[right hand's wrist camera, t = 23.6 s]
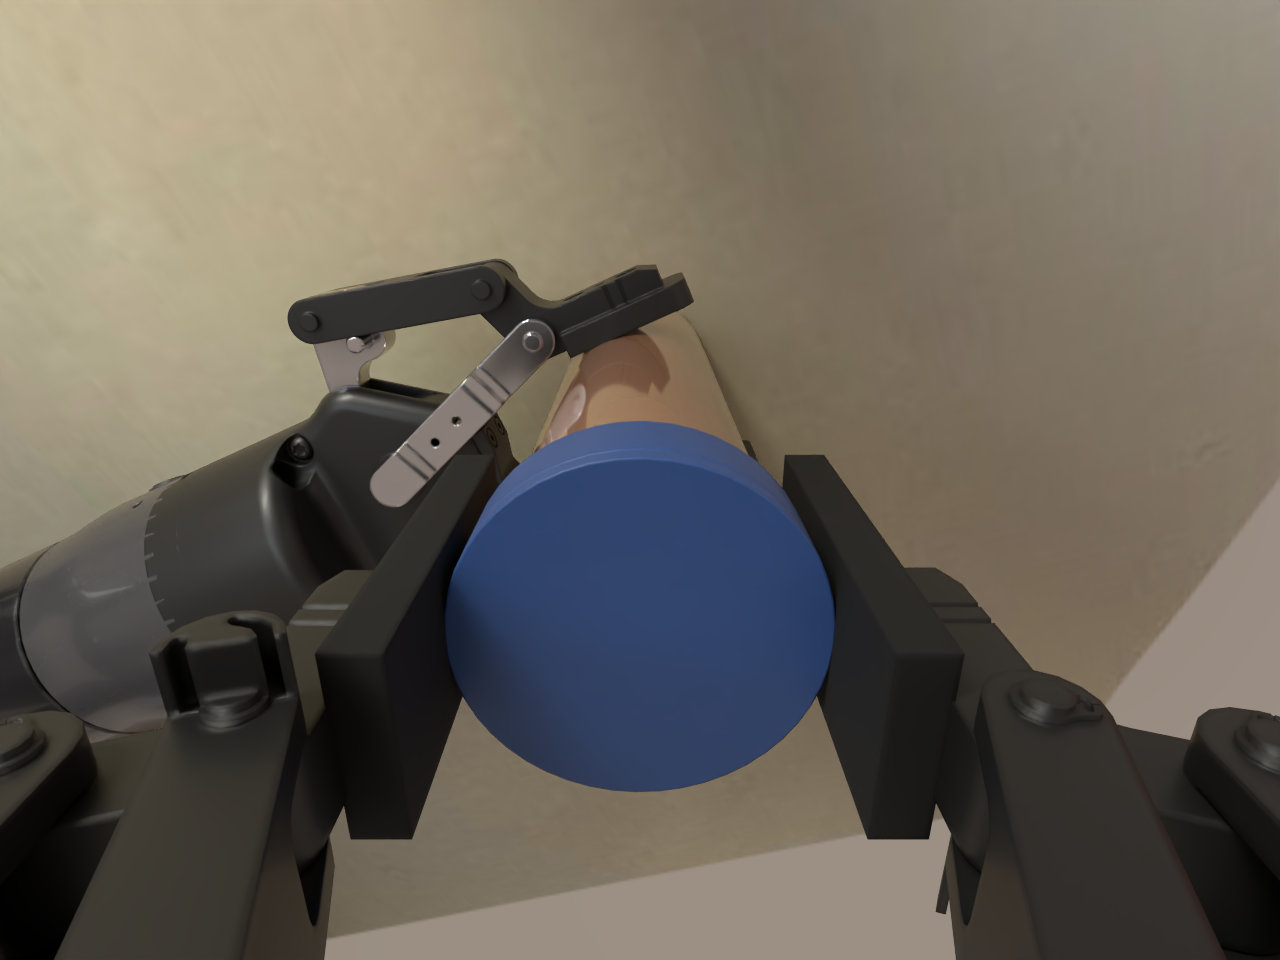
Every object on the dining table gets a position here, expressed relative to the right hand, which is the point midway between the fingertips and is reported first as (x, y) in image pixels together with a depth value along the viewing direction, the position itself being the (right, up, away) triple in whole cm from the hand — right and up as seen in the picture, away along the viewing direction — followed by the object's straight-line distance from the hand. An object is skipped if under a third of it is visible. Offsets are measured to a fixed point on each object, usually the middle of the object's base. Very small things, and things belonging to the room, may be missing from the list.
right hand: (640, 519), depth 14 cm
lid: (0, -1, -4) cm, 4 cm away
